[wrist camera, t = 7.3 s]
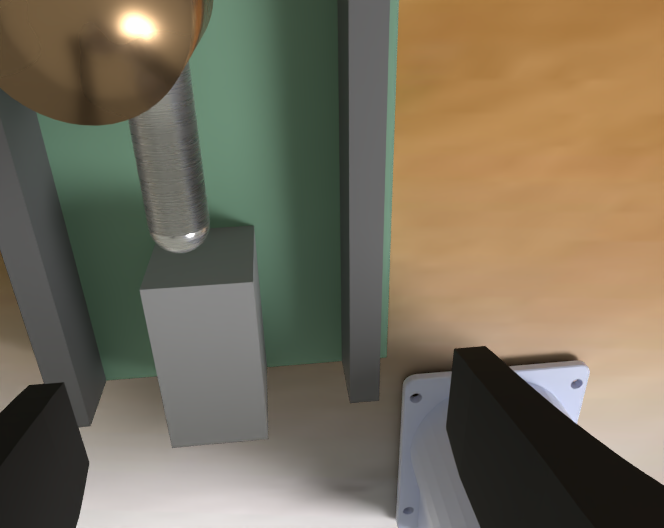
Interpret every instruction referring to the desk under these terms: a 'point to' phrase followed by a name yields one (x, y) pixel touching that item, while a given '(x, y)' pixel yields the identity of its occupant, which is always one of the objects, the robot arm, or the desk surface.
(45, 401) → the robot arm
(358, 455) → the desk surface
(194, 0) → the kicker
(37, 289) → the pitch
